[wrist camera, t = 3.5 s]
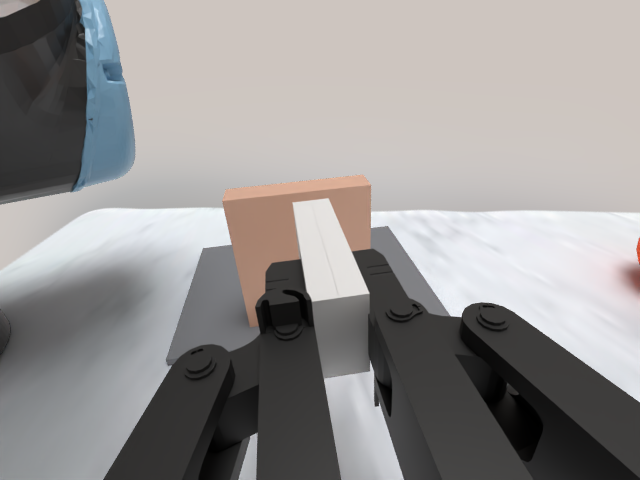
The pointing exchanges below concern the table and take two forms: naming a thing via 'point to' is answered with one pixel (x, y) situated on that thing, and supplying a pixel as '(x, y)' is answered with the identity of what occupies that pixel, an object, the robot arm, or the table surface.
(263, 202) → the tile
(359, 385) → the table surface
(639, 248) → the clementine
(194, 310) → the mat
